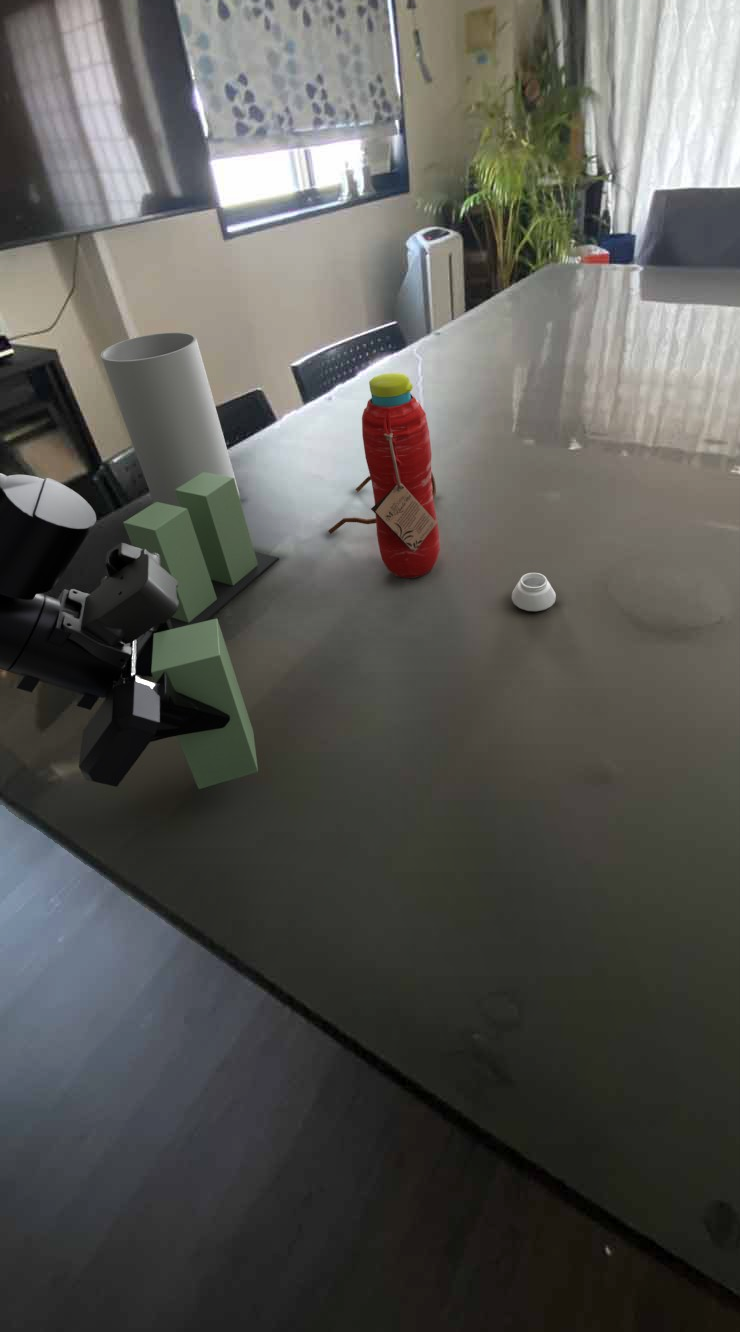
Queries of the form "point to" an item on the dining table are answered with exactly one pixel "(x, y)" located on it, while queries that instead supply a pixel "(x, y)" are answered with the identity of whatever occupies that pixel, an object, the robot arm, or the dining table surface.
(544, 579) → the white jar
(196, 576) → the middle block
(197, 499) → the far block
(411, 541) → the water bottle
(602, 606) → the dining table surface
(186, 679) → the block
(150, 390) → the cylinder vase
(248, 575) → the mat
